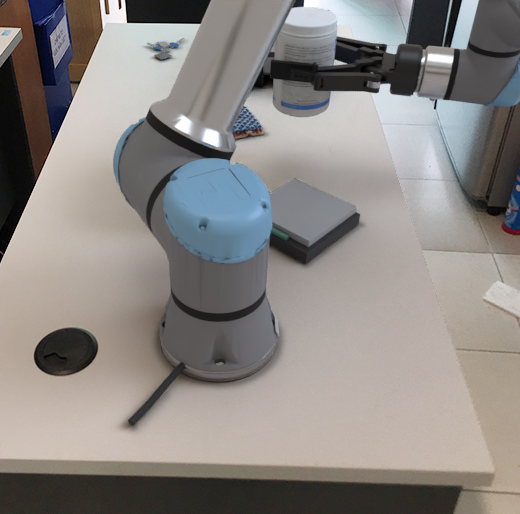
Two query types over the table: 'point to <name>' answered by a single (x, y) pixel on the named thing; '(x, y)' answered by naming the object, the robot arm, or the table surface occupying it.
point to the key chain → (164, 45)
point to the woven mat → (246, 125)
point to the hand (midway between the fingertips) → (276, 56)
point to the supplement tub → (304, 59)
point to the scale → (308, 219)
